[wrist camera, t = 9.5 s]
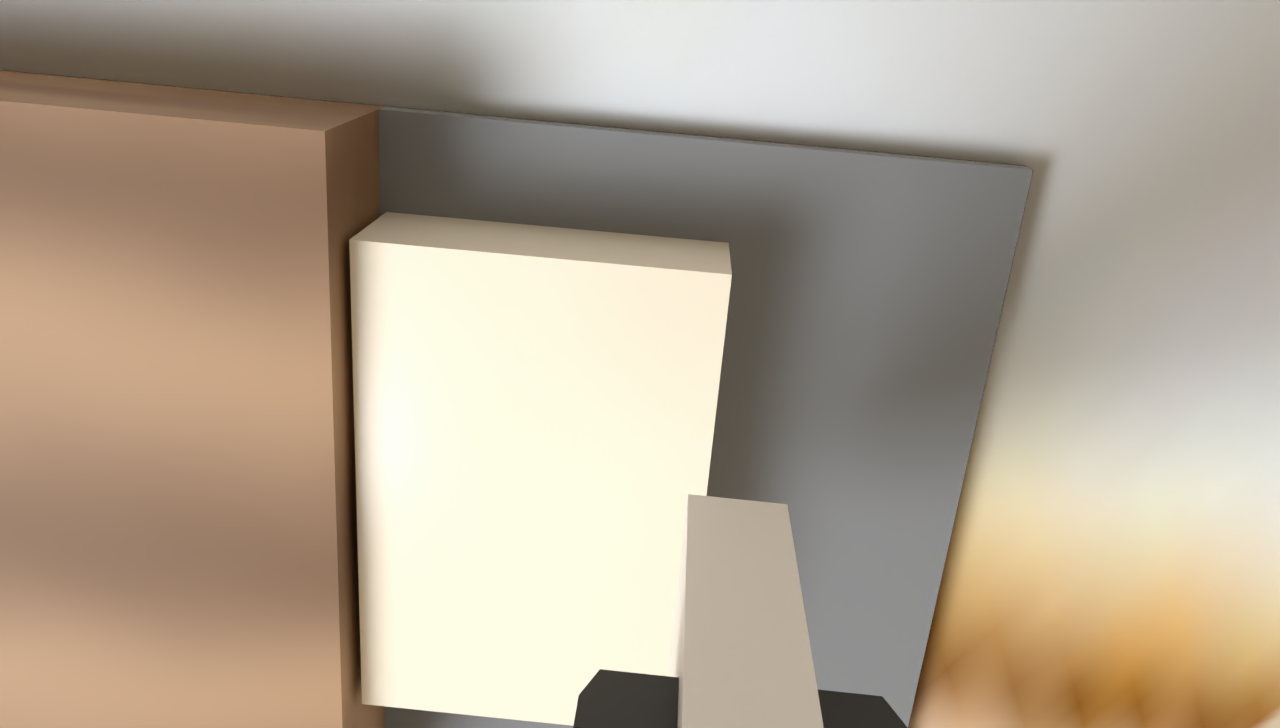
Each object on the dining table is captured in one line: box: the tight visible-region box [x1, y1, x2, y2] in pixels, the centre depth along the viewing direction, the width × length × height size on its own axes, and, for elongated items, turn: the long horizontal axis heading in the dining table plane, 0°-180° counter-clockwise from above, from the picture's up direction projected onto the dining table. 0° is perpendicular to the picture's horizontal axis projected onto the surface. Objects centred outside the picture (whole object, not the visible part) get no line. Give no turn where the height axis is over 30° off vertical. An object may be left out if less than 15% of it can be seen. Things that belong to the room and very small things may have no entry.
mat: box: [378, 106, 1033, 728], centre depth 20 cm, size 14×11×1 cm
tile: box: [349, 212, 732, 726], centre depth 18 cm, size 9×6×2 cm, turn 175°
